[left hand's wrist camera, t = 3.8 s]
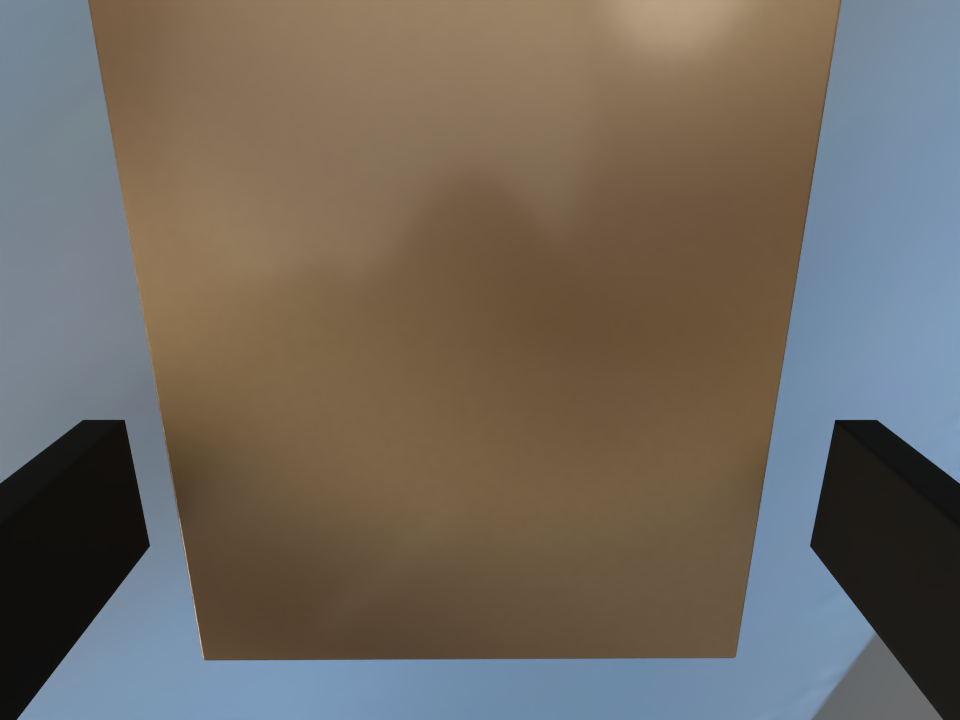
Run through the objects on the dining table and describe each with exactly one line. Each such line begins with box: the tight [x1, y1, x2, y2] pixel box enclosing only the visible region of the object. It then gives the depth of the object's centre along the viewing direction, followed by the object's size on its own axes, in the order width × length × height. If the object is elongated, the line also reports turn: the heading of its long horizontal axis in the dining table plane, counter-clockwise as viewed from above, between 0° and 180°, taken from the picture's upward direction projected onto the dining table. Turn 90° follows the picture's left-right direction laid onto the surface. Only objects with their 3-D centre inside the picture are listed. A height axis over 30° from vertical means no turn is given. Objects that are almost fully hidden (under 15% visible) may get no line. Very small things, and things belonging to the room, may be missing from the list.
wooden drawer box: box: [88, 0, 841, 660], centre depth 16 cm, size 21×11×12 cm, turn 0°
